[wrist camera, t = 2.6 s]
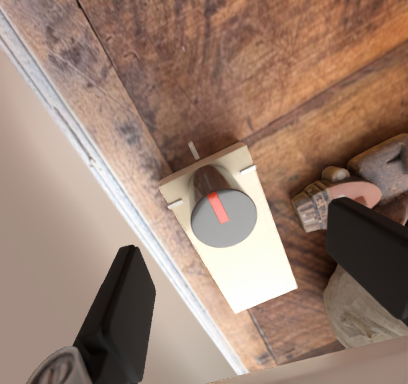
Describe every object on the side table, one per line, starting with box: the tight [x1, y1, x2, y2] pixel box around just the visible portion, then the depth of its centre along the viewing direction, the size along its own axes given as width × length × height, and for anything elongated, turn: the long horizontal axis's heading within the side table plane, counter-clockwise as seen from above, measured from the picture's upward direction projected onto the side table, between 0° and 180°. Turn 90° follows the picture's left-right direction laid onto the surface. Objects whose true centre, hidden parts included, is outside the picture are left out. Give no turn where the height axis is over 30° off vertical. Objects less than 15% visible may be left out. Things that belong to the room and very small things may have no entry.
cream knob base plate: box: [158, 142, 298, 314], centre depth 20 cm, size 20×8×2 cm, turn 25°
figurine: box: [291, 133, 408, 232], centre depth 18 cm, size 7×5×20 cm
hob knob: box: [188, 164, 257, 248], centre depth 14 cm, size 4×4×6 cm
